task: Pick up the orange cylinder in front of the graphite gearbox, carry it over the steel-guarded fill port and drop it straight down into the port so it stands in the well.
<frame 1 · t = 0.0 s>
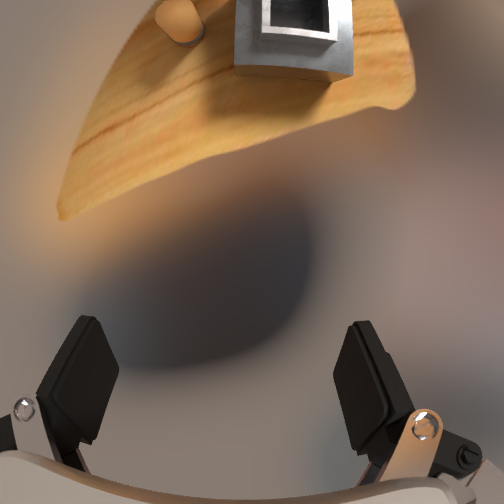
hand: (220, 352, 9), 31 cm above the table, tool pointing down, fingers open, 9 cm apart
orange cylinder: (189, 33, 27), on the table
gearbox: (286, 33, 28), on the table
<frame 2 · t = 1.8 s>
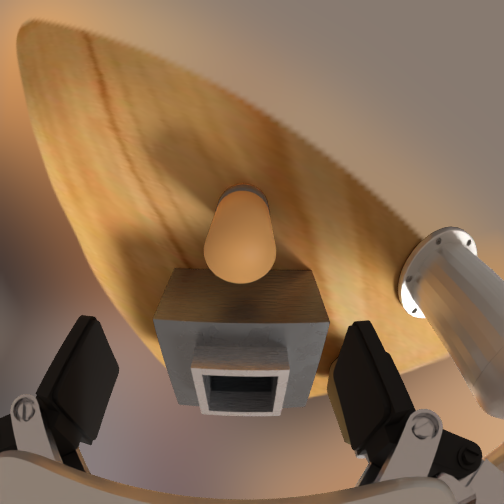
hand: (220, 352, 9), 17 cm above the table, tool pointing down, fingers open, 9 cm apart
orange cylinder: (243, 207, 25), on the table
gearbox: (242, 319, 31), on the table
squeeze bottle: (349, 362, 35), on the table
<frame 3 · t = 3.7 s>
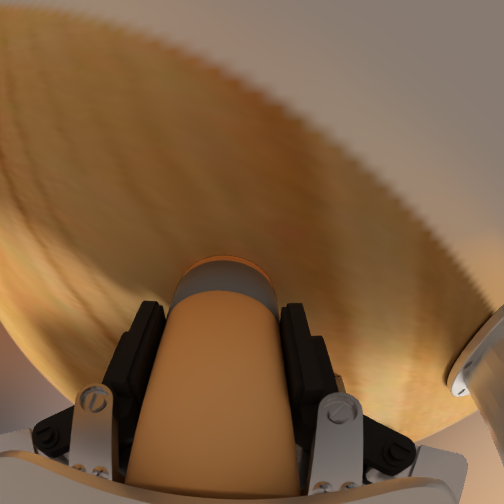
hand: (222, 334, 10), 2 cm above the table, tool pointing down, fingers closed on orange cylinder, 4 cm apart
orange cylinder: (225, 298, 12), on the table, touching gripper
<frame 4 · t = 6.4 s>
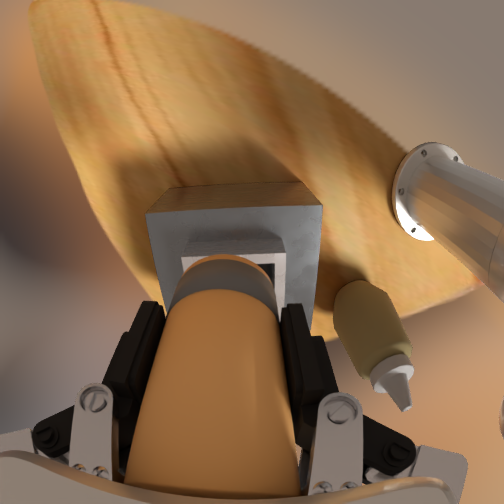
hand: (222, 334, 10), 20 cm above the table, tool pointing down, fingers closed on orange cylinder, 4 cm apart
orange cylinder: (225, 297, 12), point 18 cm above the table, touching gripper
gearbox: (238, 240, 31), on the table
squeeze bottle: (353, 296, 35), on the table
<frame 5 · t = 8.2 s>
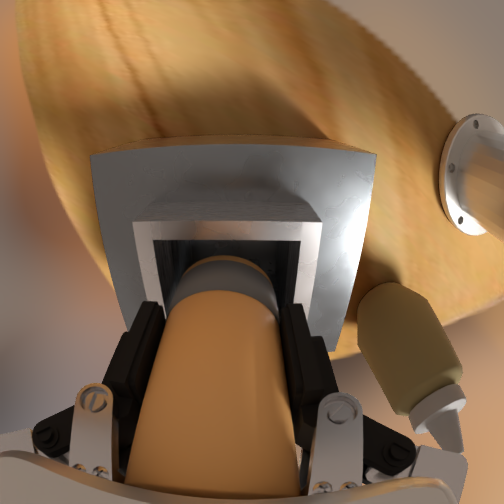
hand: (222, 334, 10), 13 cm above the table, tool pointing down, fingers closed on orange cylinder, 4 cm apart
orange cylinder: (225, 297, 12), point 10 cm above the table, touching gripper
gearbox: (235, 218, 22), on the table
squeeze bottle: (381, 303, 26), on the table
when the fingers open (12 cm above the table, at t = 9.3 s): orange cylinder drops 7 cm, resting on gearbox.
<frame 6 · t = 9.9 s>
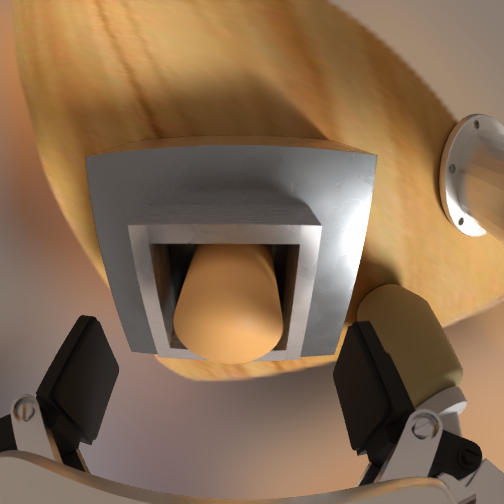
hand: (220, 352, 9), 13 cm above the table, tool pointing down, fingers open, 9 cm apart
orange cylinder: (235, 235, 19), point 3 cm above the table, touching gearbox
gearbox: (233, 219, 21), on the table
squeeze bottle: (380, 304, 26), on the table
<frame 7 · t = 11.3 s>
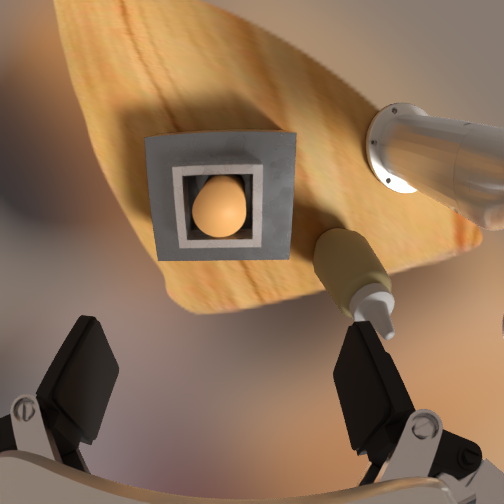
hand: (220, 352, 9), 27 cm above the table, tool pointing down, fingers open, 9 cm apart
orange cylinder: (225, 187, 30), point 3 cm above the table, touching gearbox
gearbox: (224, 181, 33), on the table
squeeze bottle: (333, 246, 38), on the table
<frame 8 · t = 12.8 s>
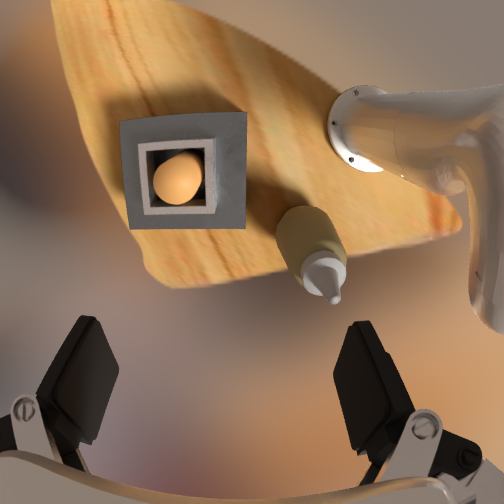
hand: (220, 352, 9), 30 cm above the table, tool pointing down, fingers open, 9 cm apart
orange cylinder: (191, 165, 33), point 3 cm above the table, touching gearbox
gearbox: (194, 161, 35), on the table
squeeze bottle: (299, 223, 40), on the table
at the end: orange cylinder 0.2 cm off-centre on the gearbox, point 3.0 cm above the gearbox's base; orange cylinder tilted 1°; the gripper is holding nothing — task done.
